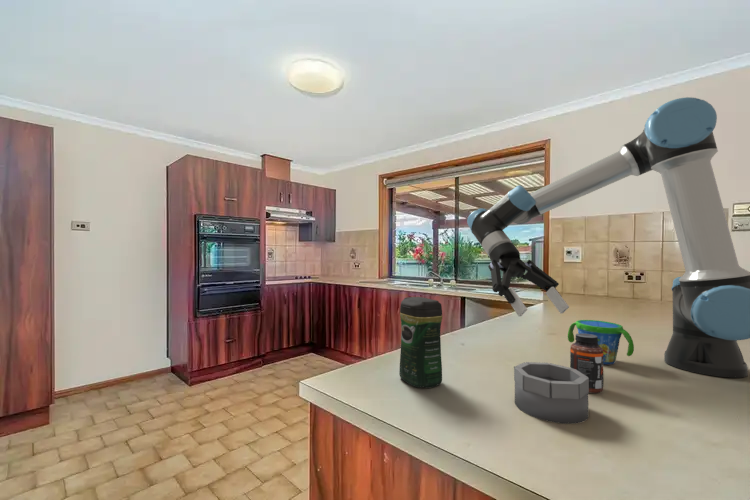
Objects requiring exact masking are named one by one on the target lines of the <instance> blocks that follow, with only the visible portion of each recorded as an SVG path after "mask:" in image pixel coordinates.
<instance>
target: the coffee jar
mask: <svg viewBox="0 0 750 500" xmlns="http://www.w3.org/2000/svg"><path fill="white" fill-rule="evenodd" d="M399 316H400V317H399V318H400V327H401V329H400V331H401V333H400V334H401V335H400V336H401V337H400V358H399V371H398V372H399V377H400V379H402V380H403V381H404V382H405V383H407V384H409V385H411V386H412V387H415V388H427V389H431V388H435V387H437V386H439V385H440V384H442V382H443V365H442V363H443V361H442V351H441V350H442V344H441V329H442V328H441V327H442V322H443V316H444V315H443V308H442V303H441V302H440V301H439V300H435V299H432V298H426V297H422V296H413V297H412V296H410V297H404V298H403V299H402V301H401V302H400V307H399Z"/></svg>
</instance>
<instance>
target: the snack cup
mask: <svg viewBox="0 0 750 500" xmlns="http://www.w3.org/2000/svg"><path fill="white" fill-rule="evenodd" d="M575 328H576V329H577V332H578V333H583V334H592V335H595V336H597V337H598V345H599V346H600V347H601V348H602V349H603V365H608V366H610V365H614V364H615V363H616V361H617V356H618V352H619V348H620V347H619V346H620V340H621V337H622V335H623V336H624V338H625V340H626V341H627V343H628V346H627V352H626V356H627V357H630V356H632V355H633V354H634V350H635V344H634V341H633V338H632V336H631V334H630V333H629V332H628V331H627V330H626V329H624V327H623V325H622V324H619V323H616V322H615V323H614V322H610V321H603V320H595V319H578V320H576V321H574V322H572V323H571V324H570V326H569V328H568V332H567V340H568V342H569V343H575V336H574V330H575ZM578 333H577V334H578Z"/></svg>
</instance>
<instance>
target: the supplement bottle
mask: <svg viewBox="0 0 750 500" xmlns="http://www.w3.org/2000/svg"><path fill="white" fill-rule="evenodd" d="M569 353H570V357H569V358H570V361H569V362H570V363H569V365H570V367H569V368H573V369H576V370H578V371H579V372H581V373H582V374H584V375H585V376H587V377H588V378H589V393H588V394H590V393H591V394H599V393H602V392H603V391H604V364H603V349H602V348H601V347H600V346H599V345H598V337H597V336H595V335H592V334H583V333H575V337H574V342H572V344H571V345H570V351H569Z"/></svg>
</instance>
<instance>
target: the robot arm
mask: <svg viewBox="0 0 750 500" xmlns="http://www.w3.org/2000/svg"><path fill="white" fill-rule="evenodd" d="M717 120H718V114H717V112H716V109H715V107H714V106H713V105H712V104H711V103H709V102H708V101H707V100H704V99H701V98H697V97H692V96H691V97H688V96H687V97H680V98H679V97H678V98H675V99H672V100H670V101H666V102H665V103H663V104H662V105H660V106H659V107H658V108H657V109H655V110H654V111H653V112H652V113H651V114H650V116H649V117H648V118H647V120H646V121H645V124H644V128H643V130H642V132H641V133H640V134H639V135H638V136H637V137H635V138H634V139H632V140H630V141H628V142H626V143H624V144H623V145H621V146H620V148H619V150H618V151H616V152H613V153H612V154H610V155H607V156H605V157H603V158H601V159H600V160H598V161H595V162H593V163H591V164H589V165H587V166H585V167H583V168H580V169H579V170H576V171H574V172H572V173H570V174H567V175H566V176H563V177H561V178H559V179H557V180H555V181H553V182H551V183H549V184H546V185H545V186H543V187H541V188H538V189H537V190H535V191H532V192H531V193H530V192H529V191H528V190H526V188H525V187H524V186H522V185H520V184H519V185H516V186H515V187H514V188H512V189H511V190H508V192H507V193H506V194H505V195H504V196H503V197H501V198H500V199H499V200H498V201H497V202H496V203H495V204H493V205H492V206H491V207H490V208H488V209H486V208H477V209H476V210H474V211H472V212H471V213H470V214H469V215H468V217H467V219H466V220H467V221H466V223H467V225H468V228H469V229H470V232H471V234H473V236H474V238H476V240H477V242H478V243H479V244H480V246H481V247H482V248H483V250H484V251H485V253H486V254H487V256H488V257H489V259H490V261H491V262H490V263H489V264H488V266H487V267H488V269H489V271H490V275H491V286H492V291H493V292H494V293H497V294H498V296H500V297H504V298H505V300H506V301H507V302H508V304H510V305H511V307H512V309H513V310H514V312H515V313H516V315H517V316H518V317H522V316H523V315H524V314H525V313H526V312H527V311H528V307H526V305H525V304H524V302H523V301H522V300H521V298H520V297H519V295H518V293H517V292H516V291H515V289H514V288H513V287H510V286H511V285H510V284H511V280H512V278H516V277H517V278H521V279H523V280H527V281H529V282H531V283H532V284H533V285H535V286H537V287H538V288H540V289H542V290H543V291H545V293H544V294H545V296H547V298H548V299H549V300H550V301H551V303H552V304H553V306H555V308H556V310H557V311H558V312H559V314H564V313H565V312H566V311H567V310H568V309H569V308H570V306H569V304H568V303H567V302H566V300H565V299H564V298H563V296H562V294H561V293H560V292H559V291H558V289H556V288H557V287H558V286H559V285H560V283H559V282H558V281H557V280H556V279H554V278H553V277H551V276H550V275H549V274H548V273H546V272H545V271H544V270H543V269H541V268H539V267H538V266H537V265H536V264H535V263H534V262H533V260H531V259H528V260H527V261H526V262H525V261H523V260H522V259H521V253H520V251H519V249H518V248H517V246H516V245H515V244H514V243H513V242H512V240H511V239H510V238H509V236H508V235H507V234H506V232H505V231H504V230H505V229H506V228H508V227H509V226H510V225H511V224H512V223H514V224H517V225H522V224H523V225H524V224H526V223H528V222H530V221H531V220H532V219H534V218H537V217H538V216H541V215H542V214H545V213H547V212H549V211H552V210H555V209H556V208H558V207H560V206H564V205H565V204H568V203H570V202H572V201H575V200H577V199H579V198H581V197H584V196H586V195H589V194H590V193H593V192H596V191H598V190H600V189H602V188H604V187H606V186H609V185H611V184H614V183H616V182H618V181H621V180H623V179H625V178H627V177H630V176H635V177H639V176H641V175H643V174H645V173H648V172H651V171H655V172H656V173H659V174H660V175H661V178H662V183H663V187H664V191H665V195H666V199H667V202H668V203H667V204H668V206H669V211H670V215H671V218H672V223H673V226H674V231H675V234H676V239H677V243H678V246H679V250H680V254H681V259H682V262H683V267H684V270H685V271H684V273H683V275H681V276H677V277H676V278H674V279H673V280H672V286H671V291H672V333H671V334H672V335H671V337H670V339H669V341H668V344H667V347H666V350H665V351H664V354H663V355H664V357H663V358H664V359H663V360H664V362H665V363H666V364H667V365H668V366H672V367H675V368H676V369H681V370H684V371H686V372H687V371H688V372H691V373H696V374H701V375H707V376H714V377H720V378H721V377H722V378H731V379H732V378H746V377H748V374H749V370H748V368H749V366H748V364H747V362H745V359H744V356H743V354H742V351H741V349H740V346H739V343H738V341H745V340H748V339H749V340H750V271H749V270H747V269H745V268H742V267H741V266H740V265H739V261H738V258H737V254H736V249H735V247H734V246H735V245H734V243H733V239H732V235H731V232H730V229H729V224H728V220H727V218H726V217H727V216H726V214H725V213H726V212H725V210H724V206H723V203H722V199H721V196H720V191H719V188H718V184H717V181H716V175H715V174H714V170H713V169H714V168H713V165H712V162H711V160H712V159H713V158H714V156H715V155H716V154H718V152H719V150H718V146H717V144H716V139H715V135H714V132H713V131H714V129H715V128H716V125H717ZM501 272H502V275H501Z"/></svg>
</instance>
